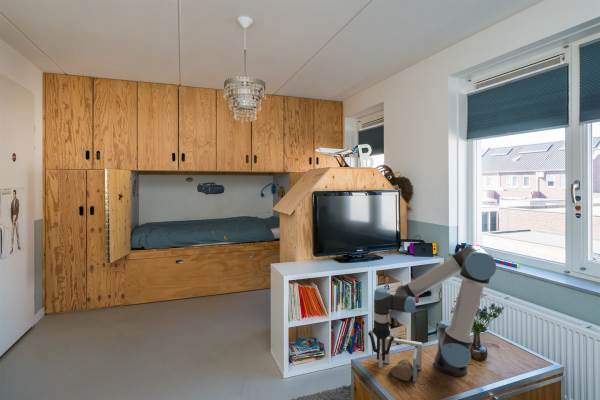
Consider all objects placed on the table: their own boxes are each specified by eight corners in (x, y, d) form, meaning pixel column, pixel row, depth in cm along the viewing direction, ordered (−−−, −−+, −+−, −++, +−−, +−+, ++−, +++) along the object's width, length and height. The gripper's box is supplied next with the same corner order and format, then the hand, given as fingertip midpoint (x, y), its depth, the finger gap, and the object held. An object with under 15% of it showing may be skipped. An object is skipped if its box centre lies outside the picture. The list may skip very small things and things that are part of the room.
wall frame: (421, 368, 157) (421, 342, 156) (421, 370, 155) (421, 344, 154) (381, 360, 164) (381, 335, 163) (380, 362, 162) (380, 337, 162)
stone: (405, 390, 143) (417, 373, 142) (388, 376, 146) (399, 359, 145) (406, 378, 155) (417, 362, 154) (389, 365, 158) (400, 349, 157)
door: (415, 366, 157) (415, 344, 157) (421, 368, 156) (421, 345, 155) (412, 381, 146) (412, 357, 145) (419, 383, 144) (419, 359, 144)
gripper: (395, 319, 155) (395, 364, 156) (369, 315, 160) (369, 359, 161) (394, 325, 148) (393, 373, 149) (366, 321, 153) (366, 367, 154)
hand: (380, 365), depth 155 cm, fingers closed
